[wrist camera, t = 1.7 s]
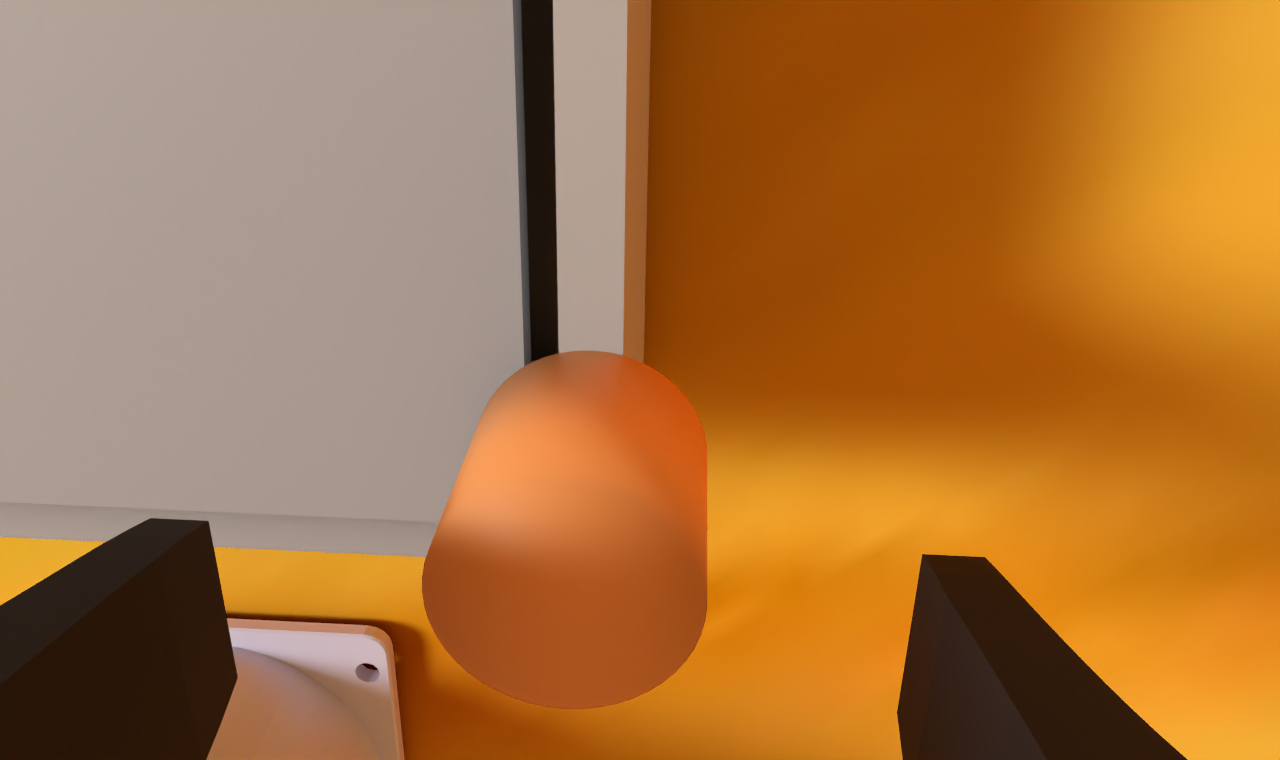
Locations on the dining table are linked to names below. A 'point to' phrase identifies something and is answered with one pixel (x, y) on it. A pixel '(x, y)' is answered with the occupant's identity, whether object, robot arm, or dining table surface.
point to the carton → (266, 260)
